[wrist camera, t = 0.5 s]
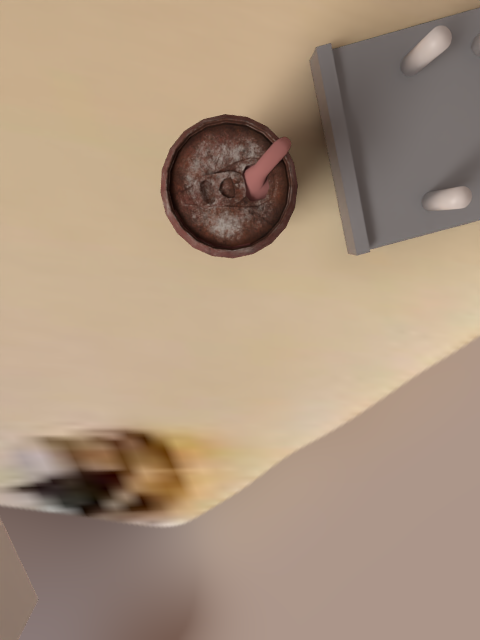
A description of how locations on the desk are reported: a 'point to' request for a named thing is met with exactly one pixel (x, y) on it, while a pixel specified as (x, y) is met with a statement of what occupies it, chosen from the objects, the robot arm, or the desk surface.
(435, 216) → the tray
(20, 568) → the robot arm
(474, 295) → the desk surface
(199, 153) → the can
